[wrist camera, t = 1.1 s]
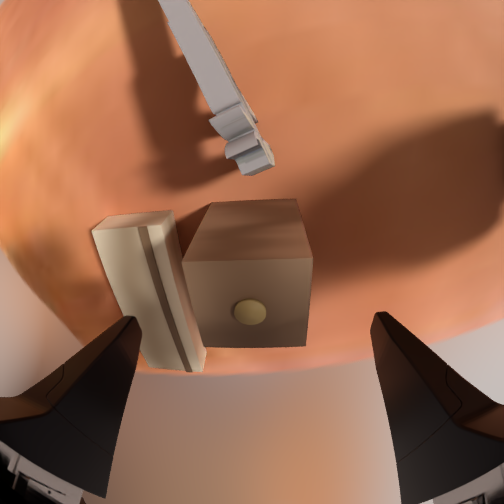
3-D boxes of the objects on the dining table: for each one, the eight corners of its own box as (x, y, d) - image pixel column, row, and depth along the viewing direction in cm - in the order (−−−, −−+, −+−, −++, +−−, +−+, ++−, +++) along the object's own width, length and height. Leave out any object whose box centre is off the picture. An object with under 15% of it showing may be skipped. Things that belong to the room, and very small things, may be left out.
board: (172, 209, 15) (160, 225, 13) (206, 352, 21) (202, 373, 19) (107, 216, 15) (90, 231, 13) (155, 348, 21) (148, 367, 19)
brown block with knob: (295, 198, 14) (313, 261, 9) (295, 269, 16) (306, 349, 11) (211, 202, 15) (179, 265, 9) (221, 271, 17) (202, 350, 11)
